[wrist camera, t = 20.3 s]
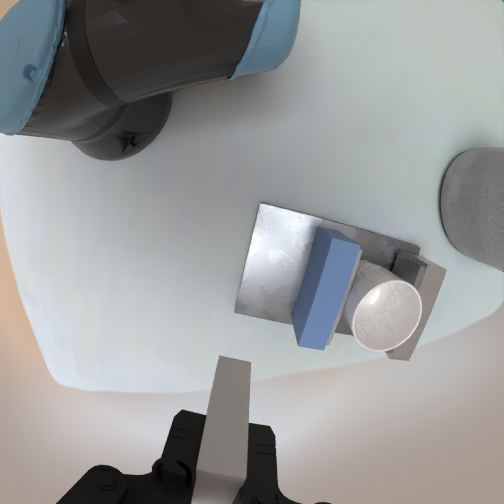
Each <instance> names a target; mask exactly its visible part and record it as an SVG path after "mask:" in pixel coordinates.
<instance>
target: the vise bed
mask: <svg viewBox="0 0 504 504" xmlns="http://www.w3.org/2000/svg"><path fill="white" fill-rule="evenodd" d="M318 227H321V228H325V229H329V230H333V231H336V232H340V233H342V234H344V235H346V236H347V237H349V238H350V239H352V240H353V241H355V242H356V243H358V244H359V245H360V249H361V250H363V251H362V254H361V257H360V260H367V261H370V262H372V263H375V264H376V265H379V266H381V267H383V268H385V269H387V270H388V271H390V272H392V270H393V267H394V264H395V261H396V258H397V255H398V253H399V254H400V252H401V250H404V251H407V252H411V253H414V254H417V255H418V254H419V251H420V247H418V246H416V245H412V244H409V243H406V242H403V241H400V240H396V239H393V238H390V237H386V236H383V235H380V234H376V233H373V232H369V231H366V230H362V229H359V228H355V227H352V226H348V225H345V224H341V223H337V222H334V221H330V220H326V219H323V218H319V217H315V216H311V215H307V214H304V213H300V212H296V211H292V210H288V209H284V208H280V207H276V206H272V205H268V204H263V203H260V206H259V210H258V214H257V218H256V223H255V227H254V231H253V235H252V239H251V243H250V248H249V252H248V256H247V260H246V264H245V268H244V273H243V277H242V281H241V285H240V289H239V294H238V298H237V302H236V306H235V311H234V312H235V313H239V314H243V315H248V316H253V317H257V318H262V319H267V320H271V321H276V322H281V323H286V324H291V325H293V322H292V318H291V317H292V314H293V311H294V308H295V305H296V302H297V298H298V295H299V292H300V288H301V285H302V282H303V278H304V275H305V272H306V268H307V265H308V261H309V258H310V254H311V251H312V247H313V244H314V240H315V237H316V233H317V229H318ZM335 333H341V334H347V335H353V333H352V331H351V329H350V327H349V325H348V323H347V321H346V319H345V316H344V314H343V312H342V313H341V316H340V319H339V322H338V324H337V327H336V329H335ZM353 336H354V335H353Z"/></svg>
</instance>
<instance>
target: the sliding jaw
mask: <svg viewBox="0 0 504 504" xmlns="http://www.w3.org/2000/svg"><path fill="white" fill-rule="evenodd" d="M362 251H363V250H361V249H360V245H359V244H358V243H356V242H355V241H353V240H352V239H350V238H349V237H347V236H346V235H344V234H342V233H340V232H336V231H333V230H329V229H325V228H321V227H318V229H317V233H316V237H315V240H314V244H313V247H312V251H311V254H310V258H309V261H308V265H307V268H306V272H305V275H304V278H303V282H302V285H301V288H300V292H299V295H298V298H297V302H296V305H295V308H294V311H293V314H292V317H291V318H292V322H293V327H294V331H295V335H296V339H297V344H298V346H301V347H307V348H313V349H319V350H324V349H325V346H326V344H327V345H330V342H331V340H332V337H333V335H334V332H335V329H336V327H337V324H338V322H339V319H340V316H341V313H342V311H343V308H344V305H345V302H346V299H347V297H348V294H349V291H350V288H351V285H352V282H353V279H354V276H355V273H356V270H357V267H358V264H359V260H360V257H361V254H362Z"/></svg>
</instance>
